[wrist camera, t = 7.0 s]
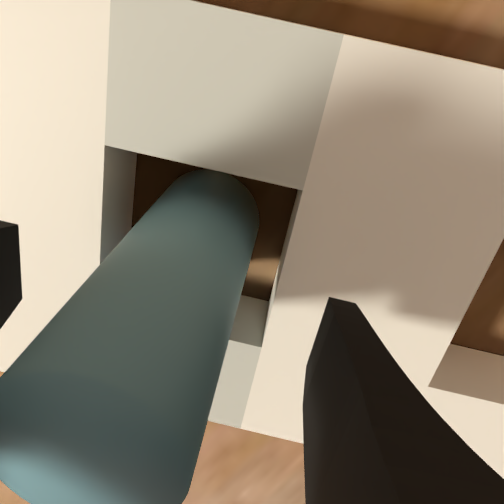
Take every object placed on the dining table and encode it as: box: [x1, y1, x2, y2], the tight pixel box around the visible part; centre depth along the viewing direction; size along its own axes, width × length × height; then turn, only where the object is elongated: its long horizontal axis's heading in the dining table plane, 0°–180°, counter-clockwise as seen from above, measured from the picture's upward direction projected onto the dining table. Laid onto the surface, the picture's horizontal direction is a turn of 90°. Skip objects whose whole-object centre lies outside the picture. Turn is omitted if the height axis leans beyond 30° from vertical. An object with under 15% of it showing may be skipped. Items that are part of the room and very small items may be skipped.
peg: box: [0, 169, 259, 504], centre depth 10 cm, size 3×3×9 cm
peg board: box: [0, 0, 504, 479], centre depth 13 cm, size 22×12×2 cm, turn 79°
